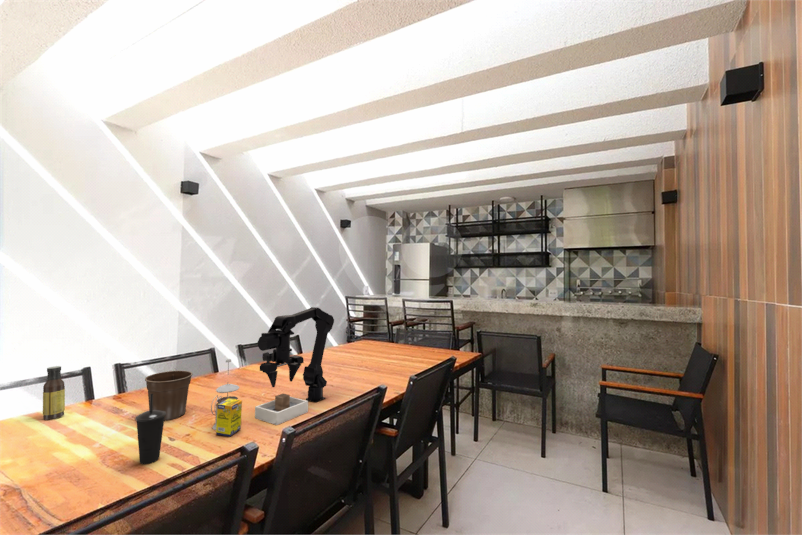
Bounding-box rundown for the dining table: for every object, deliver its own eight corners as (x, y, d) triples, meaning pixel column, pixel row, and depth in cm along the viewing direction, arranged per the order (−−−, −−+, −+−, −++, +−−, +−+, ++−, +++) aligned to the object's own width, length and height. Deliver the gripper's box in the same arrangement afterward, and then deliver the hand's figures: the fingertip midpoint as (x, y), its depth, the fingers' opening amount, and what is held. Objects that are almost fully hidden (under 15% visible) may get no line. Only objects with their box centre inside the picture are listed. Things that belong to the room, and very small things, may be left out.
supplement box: (230, 437, 124) (231, 406, 123) (215, 434, 125) (216, 404, 125) (241, 429, 129) (242, 399, 129) (226, 427, 131) (228, 397, 130)
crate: (286, 406, 154) (286, 395, 155) (307, 411, 148) (308, 401, 148) (254, 418, 141) (255, 406, 141) (276, 425, 134) (277, 413, 134)
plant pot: (197, 415, 143) (198, 375, 143) (149, 427, 131) (150, 383, 132) (184, 405, 154) (185, 368, 155) (139, 415, 142) (140, 375, 143)
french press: (246, 422, 137) (248, 357, 138) (222, 434, 126) (224, 363, 127) (227, 418, 140) (228, 355, 141) (201, 430, 129) (203, 361, 130)
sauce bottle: (67, 413, 144) (69, 364, 144) (59, 419, 138) (61, 368, 139) (47, 415, 142) (49, 365, 142) (37, 421, 136) (40, 369, 136)
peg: (282, 410, 147) (283, 393, 147) (289, 412, 145) (289, 395, 145) (274, 413, 144) (275, 396, 144) (281, 415, 142) (281, 397, 142)
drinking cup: (144, 454, 111) (146, 390, 112) (169, 453, 112) (171, 389, 112) (127, 467, 103) (130, 398, 104) (155, 466, 104) (157, 397, 105)
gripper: (286, 341, 159) (286, 376, 159) (250, 348, 143) (250, 387, 143) (304, 343, 154) (304, 379, 153) (269, 351, 138) (268, 391, 137)
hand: (282, 384), depth 147 cm, fingers open, 9 cm apart
